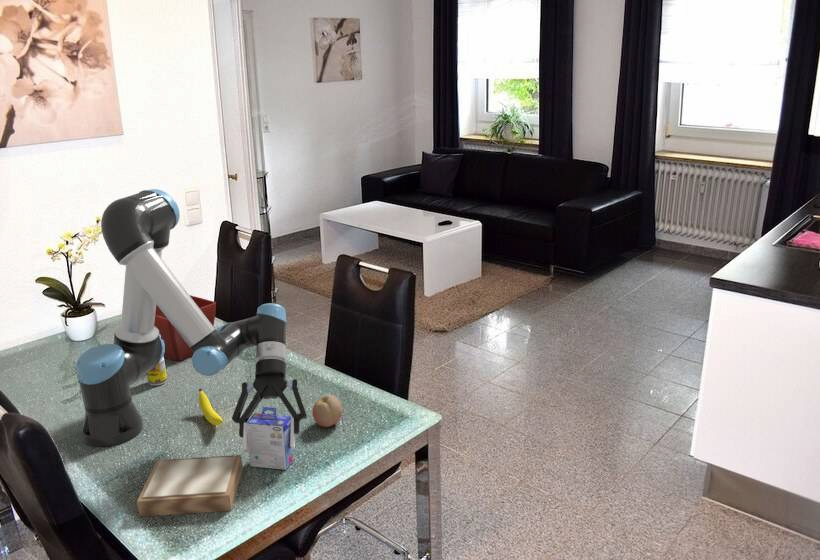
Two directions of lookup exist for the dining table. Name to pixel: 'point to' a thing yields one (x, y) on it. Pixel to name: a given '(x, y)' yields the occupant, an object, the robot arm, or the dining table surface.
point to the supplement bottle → (157, 374)
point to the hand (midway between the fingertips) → (269, 449)
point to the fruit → (327, 411)
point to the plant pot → (171, 337)
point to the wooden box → (191, 486)
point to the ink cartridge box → (269, 440)
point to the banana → (209, 410)
